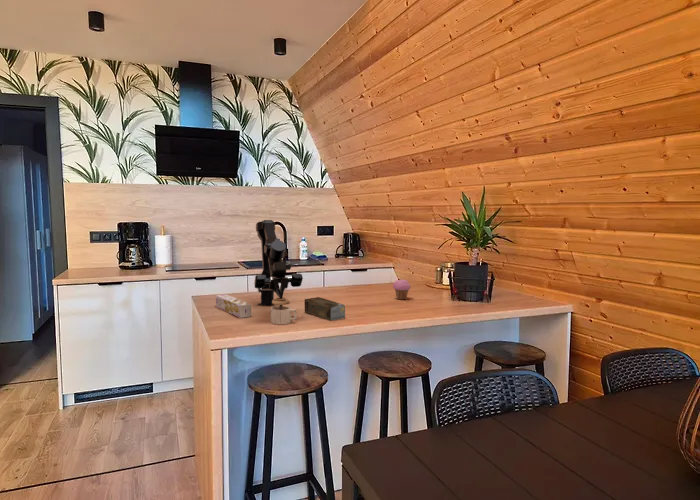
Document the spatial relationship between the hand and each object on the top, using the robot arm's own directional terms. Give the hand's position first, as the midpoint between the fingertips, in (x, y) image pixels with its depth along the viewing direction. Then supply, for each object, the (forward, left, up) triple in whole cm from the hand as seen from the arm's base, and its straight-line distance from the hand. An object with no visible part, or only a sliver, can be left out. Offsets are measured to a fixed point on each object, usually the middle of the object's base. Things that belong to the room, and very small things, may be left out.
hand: (281, 298), depth 178 cm
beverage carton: (-18, +11, -10) cm, 23 cm away
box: (-9, -28, -10) cm, 31 cm away
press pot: (-1, +1, -10) cm, 10 cm away
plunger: (0, 0, -7) cm, 7 cm away
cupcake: (-65, +34, -10) cm, 74 cm away
